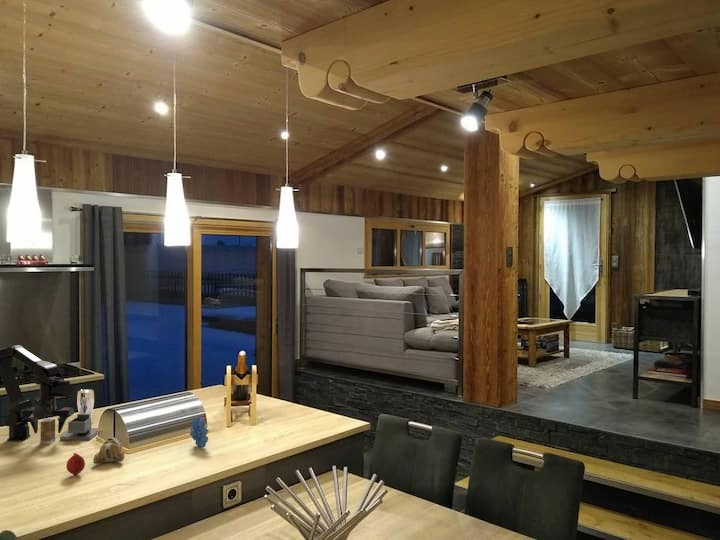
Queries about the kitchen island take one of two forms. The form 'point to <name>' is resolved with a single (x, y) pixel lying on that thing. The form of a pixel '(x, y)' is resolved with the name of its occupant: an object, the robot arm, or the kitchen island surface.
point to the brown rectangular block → (47, 431)
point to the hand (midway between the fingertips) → (47, 433)
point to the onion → (75, 464)
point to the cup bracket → (80, 428)
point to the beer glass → (85, 401)
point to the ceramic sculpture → (109, 451)
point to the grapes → (199, 432)
